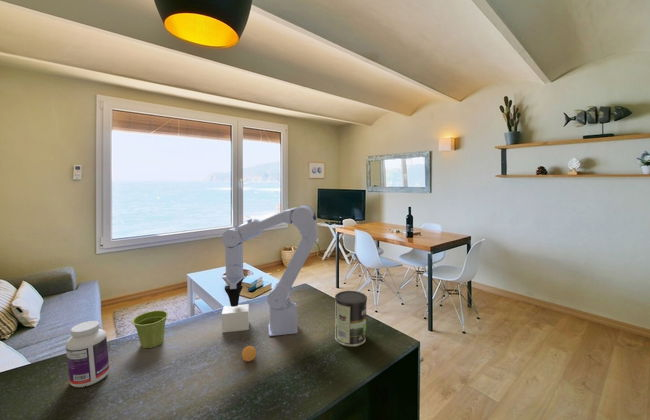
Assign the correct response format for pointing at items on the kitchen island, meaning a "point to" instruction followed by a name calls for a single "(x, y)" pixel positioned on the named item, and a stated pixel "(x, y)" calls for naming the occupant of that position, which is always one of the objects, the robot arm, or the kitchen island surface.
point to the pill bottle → (87, 354)
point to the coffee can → (350, 318)
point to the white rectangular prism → (235, 318)
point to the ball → (249, 353)
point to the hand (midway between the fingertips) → (235, 301)
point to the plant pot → (150, 328)
